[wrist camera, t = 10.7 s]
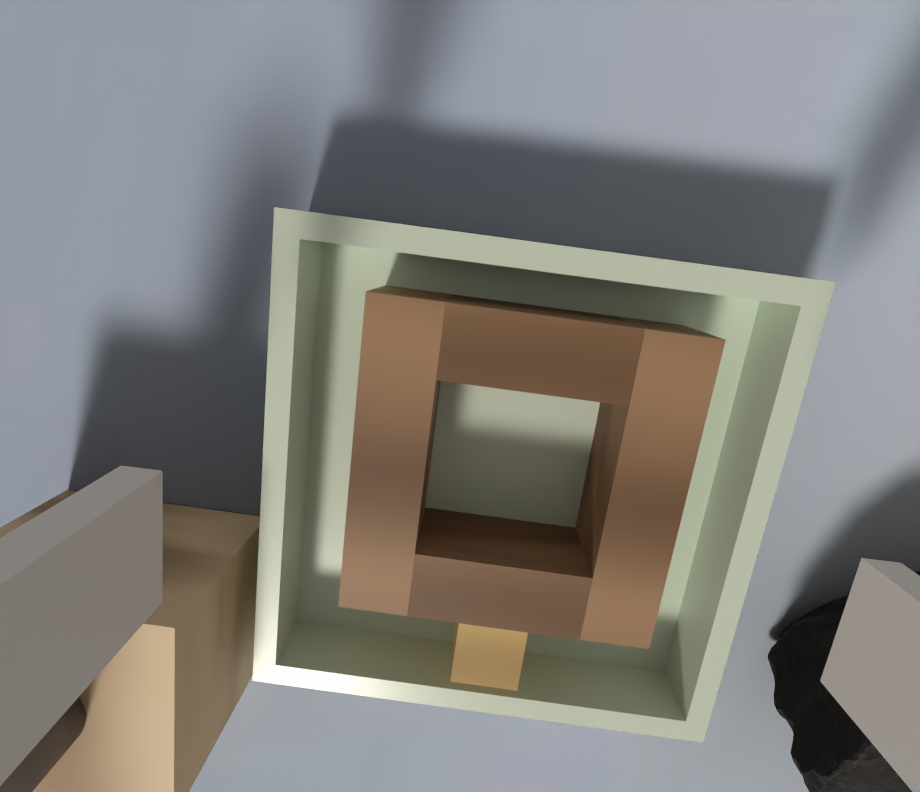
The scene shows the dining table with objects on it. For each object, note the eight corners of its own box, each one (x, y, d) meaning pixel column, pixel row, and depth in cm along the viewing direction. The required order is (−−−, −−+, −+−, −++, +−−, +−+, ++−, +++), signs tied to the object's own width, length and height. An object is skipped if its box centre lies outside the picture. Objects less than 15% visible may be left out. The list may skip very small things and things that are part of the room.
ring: (385, 285, 17) (365, 291, 14) (683, 325, 17) (725, 339, 14) (355, 604, 20) (333, 665, 17) (611, 639, 20) (634, 706, 17)
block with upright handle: (73, 637, 21) (-668, 1332, 7) (67, 489, 20) (-875, 1021, 6) (259, 663, 21) (-148, 1408, 7) (266, 517, 20) (-225, 1112, 6)
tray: (282, 624, 21) (252, 680, 18) (307, 215, 17) (274, 207, 14) (673, 677, 20) (703, 742, 18) (779, 278, 17) (836, 281, 14)
